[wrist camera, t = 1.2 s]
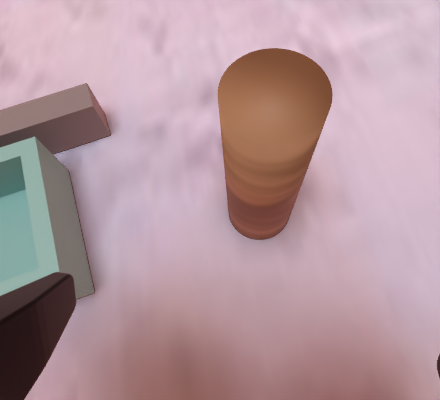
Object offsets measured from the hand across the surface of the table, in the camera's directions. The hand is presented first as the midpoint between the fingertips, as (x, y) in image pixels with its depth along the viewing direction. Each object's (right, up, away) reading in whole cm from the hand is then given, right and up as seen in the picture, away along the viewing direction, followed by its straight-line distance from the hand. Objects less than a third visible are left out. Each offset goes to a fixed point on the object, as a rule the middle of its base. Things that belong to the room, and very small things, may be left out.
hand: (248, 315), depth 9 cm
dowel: (+2, +2, +15) cm, 15 cm away
